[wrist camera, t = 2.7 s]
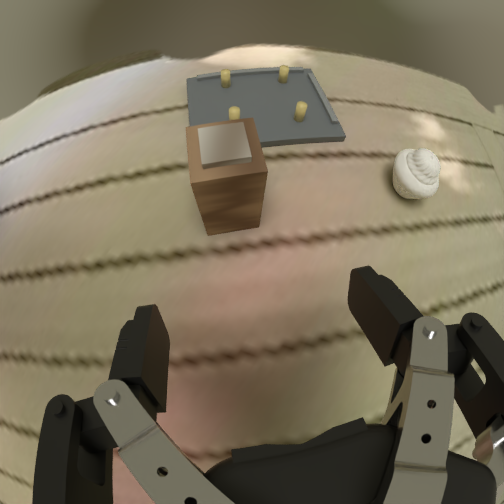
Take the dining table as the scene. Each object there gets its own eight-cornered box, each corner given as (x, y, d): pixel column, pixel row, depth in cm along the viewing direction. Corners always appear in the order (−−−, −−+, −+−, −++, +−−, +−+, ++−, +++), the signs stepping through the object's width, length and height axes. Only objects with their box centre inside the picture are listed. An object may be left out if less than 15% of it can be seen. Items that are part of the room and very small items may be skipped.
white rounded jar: (429, 205, 29) (462, 179, 22) (395, 214, 28) (428, 185, 21) (409, 163, 30) (435, 132, 23) (374, 167, 30) (399, 132, 23)
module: (207, 235, 26) (188, 178, 16) (202, 191, 28) (184, 122, 18) (258, 227, 27) (268, 166, 17) (249, 183, 28) (253, 112, 18)
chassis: (193, 157, 29) (188, 138, 26) (187, 83, 33) (184, 65, 29) (343, 141, 30) (352, 123, 27) (309, 73, 34) (313, 56, 31)
